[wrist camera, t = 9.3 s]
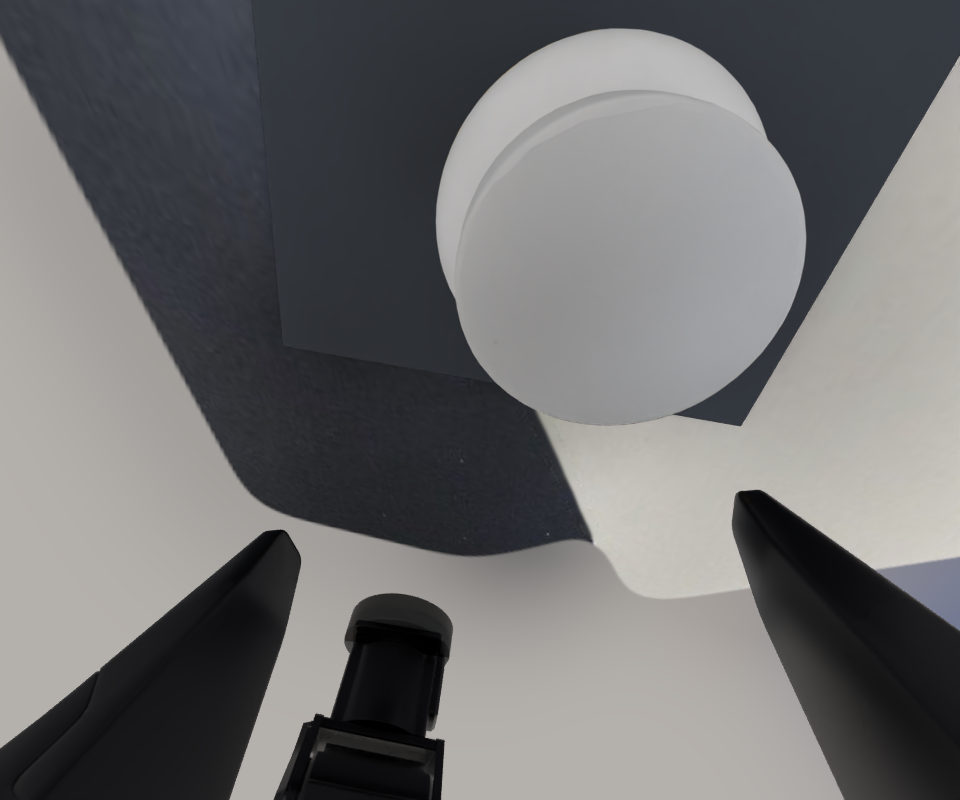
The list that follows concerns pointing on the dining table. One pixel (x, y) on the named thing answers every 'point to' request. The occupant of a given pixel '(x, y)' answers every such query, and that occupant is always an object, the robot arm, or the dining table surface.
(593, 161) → the pill bottle
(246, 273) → the dining table surface
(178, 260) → the dining table surface
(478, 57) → the left mat
